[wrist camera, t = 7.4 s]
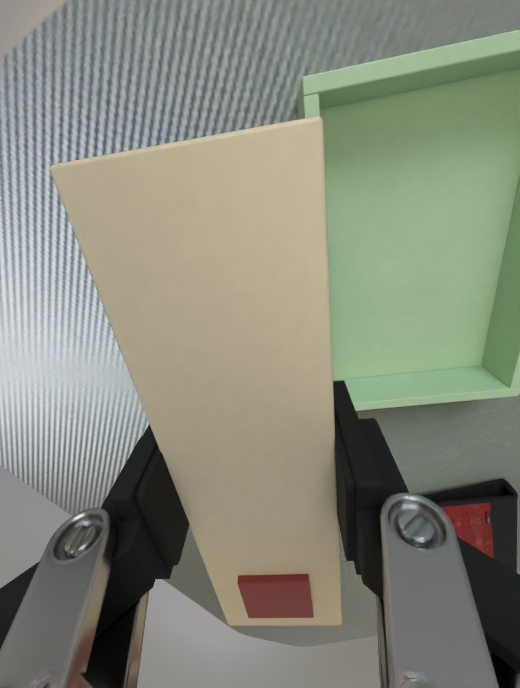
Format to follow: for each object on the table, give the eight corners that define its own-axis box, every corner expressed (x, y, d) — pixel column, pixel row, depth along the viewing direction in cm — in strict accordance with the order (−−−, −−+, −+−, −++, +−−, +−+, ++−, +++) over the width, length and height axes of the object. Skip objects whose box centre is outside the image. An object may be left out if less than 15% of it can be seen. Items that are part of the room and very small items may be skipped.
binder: (521, 496, 30) (520, 598, 38) (505, 476, 32) (508, 577, 40) (360, 518, 34) (392, 606, 42) (356, 499, 36) (387, 587, 44)
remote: (127, 176, 7) (34, 163, 5) (305, 145, 7) (326, 108, 4) (236, 547, 14) (227, 635, 12) (329, 544, 14) (343, 634, 11)
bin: (296, 100, 18) (301, 76, 15) (552, 46, 17) (628, 5, 13) (319, 385, 28) (326, 413, 24) (485, 368, 26) (519, 396, 23)
